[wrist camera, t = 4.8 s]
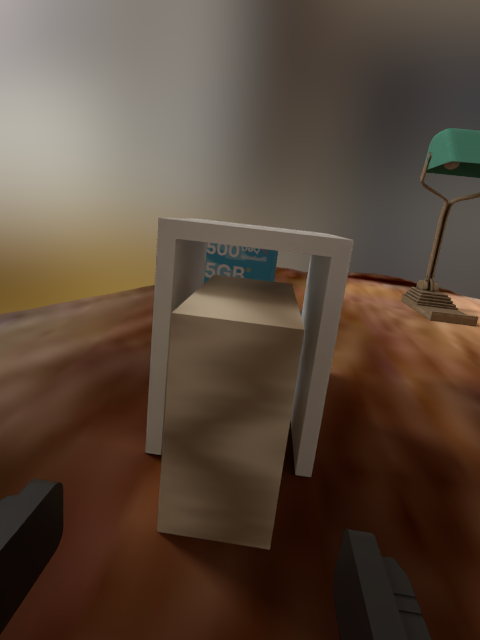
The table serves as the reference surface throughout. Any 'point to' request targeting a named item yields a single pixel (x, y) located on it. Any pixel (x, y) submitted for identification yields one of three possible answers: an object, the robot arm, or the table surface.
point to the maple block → (229, 409)
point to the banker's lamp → (445, 219)
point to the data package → (240, 262)
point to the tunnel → (317, 316)
